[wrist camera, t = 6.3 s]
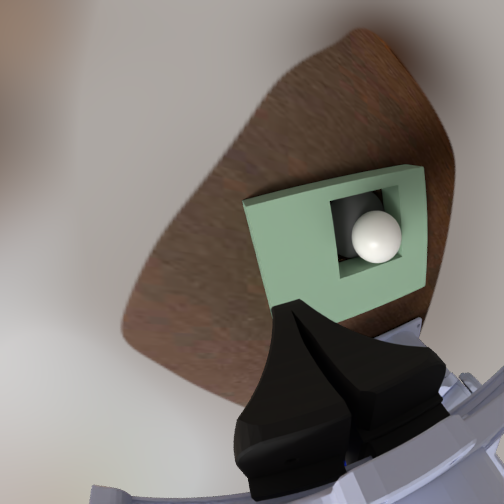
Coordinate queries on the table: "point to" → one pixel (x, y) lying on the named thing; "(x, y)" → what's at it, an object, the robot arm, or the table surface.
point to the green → (339, 241)
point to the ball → (376, 236)
